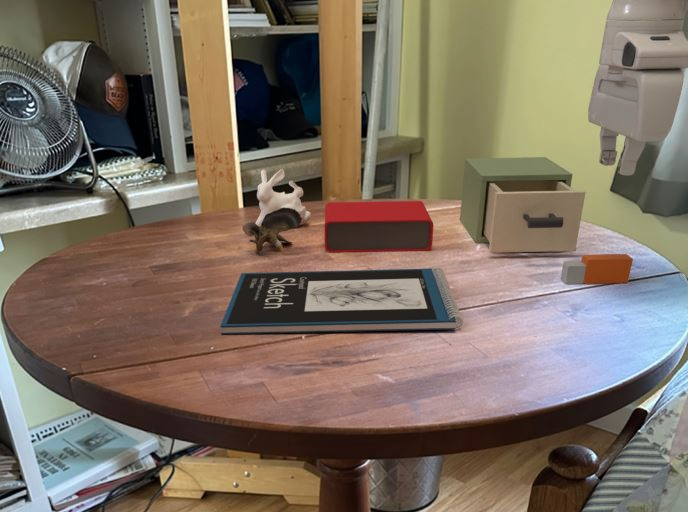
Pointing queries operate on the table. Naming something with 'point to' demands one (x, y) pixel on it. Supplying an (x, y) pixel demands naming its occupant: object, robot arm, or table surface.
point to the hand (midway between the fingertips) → (615, 169)
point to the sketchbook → (341, 302)
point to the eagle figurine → (273, 227)
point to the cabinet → (500, 170)
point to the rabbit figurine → (279, 198)
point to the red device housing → (377, 226)
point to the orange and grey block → (597, 269)
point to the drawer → (532, 216)
